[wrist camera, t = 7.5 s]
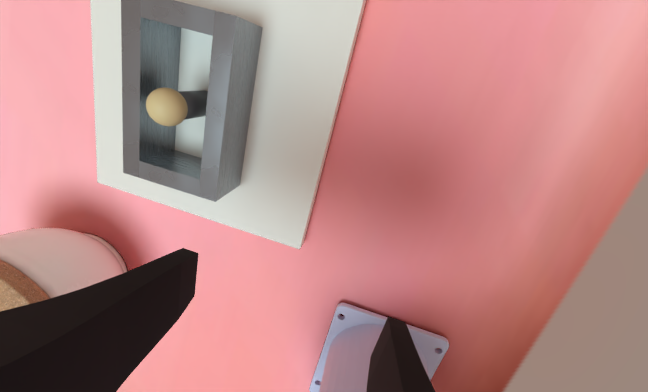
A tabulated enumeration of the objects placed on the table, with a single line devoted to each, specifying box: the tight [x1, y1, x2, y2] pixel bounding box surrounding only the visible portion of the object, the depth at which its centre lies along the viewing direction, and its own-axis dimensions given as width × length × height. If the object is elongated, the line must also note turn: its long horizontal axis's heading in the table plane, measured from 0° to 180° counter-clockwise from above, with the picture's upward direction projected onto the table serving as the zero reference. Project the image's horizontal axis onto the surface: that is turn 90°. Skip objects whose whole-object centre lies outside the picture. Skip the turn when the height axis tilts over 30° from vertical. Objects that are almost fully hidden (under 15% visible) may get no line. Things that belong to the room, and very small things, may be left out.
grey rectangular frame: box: [121, 0, 263, 202], centre depth 17 cm, size 9×6×3 cm, turn 167°
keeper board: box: [90, 0, 366, 249], centre depth 17 cm, size 15×15×5 cm
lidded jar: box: [0, 228, 128, 311], centre depth 22 cm, size 11×11×9 cm
